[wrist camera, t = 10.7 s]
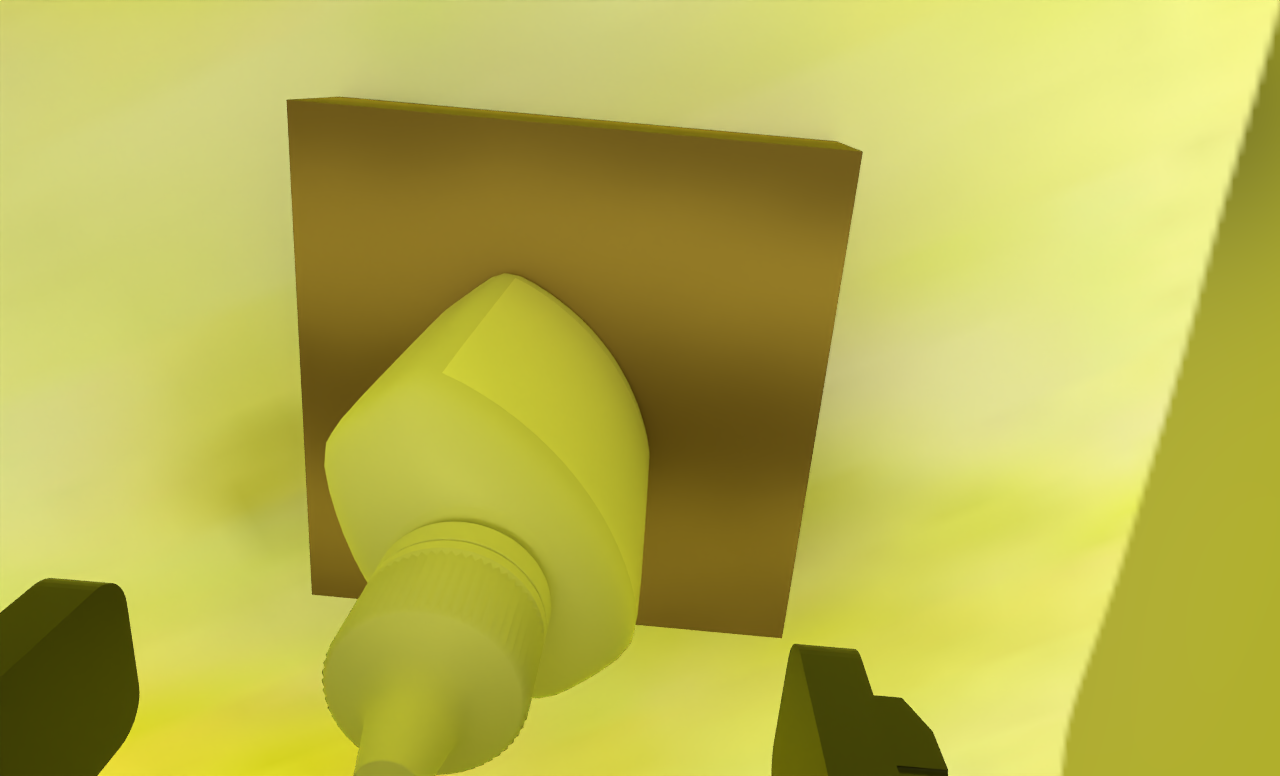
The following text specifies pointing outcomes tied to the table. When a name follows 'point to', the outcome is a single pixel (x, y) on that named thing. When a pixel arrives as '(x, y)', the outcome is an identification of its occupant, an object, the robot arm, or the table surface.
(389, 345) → the walnut plinth
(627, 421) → the squeeze bottle
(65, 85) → the table surface
